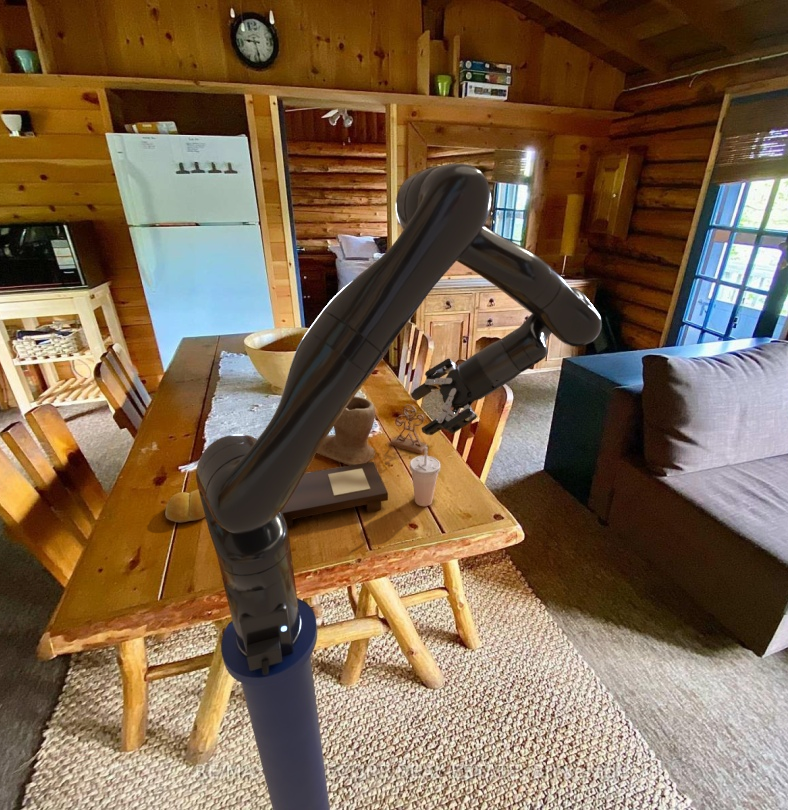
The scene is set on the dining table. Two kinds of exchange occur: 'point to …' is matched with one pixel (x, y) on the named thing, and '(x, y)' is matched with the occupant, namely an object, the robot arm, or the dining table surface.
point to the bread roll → (185, 507)
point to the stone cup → (351, 434)
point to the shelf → (336, 491)
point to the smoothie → (424, 478)
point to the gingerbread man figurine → (405, 442)
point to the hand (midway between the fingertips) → (418, 414)
